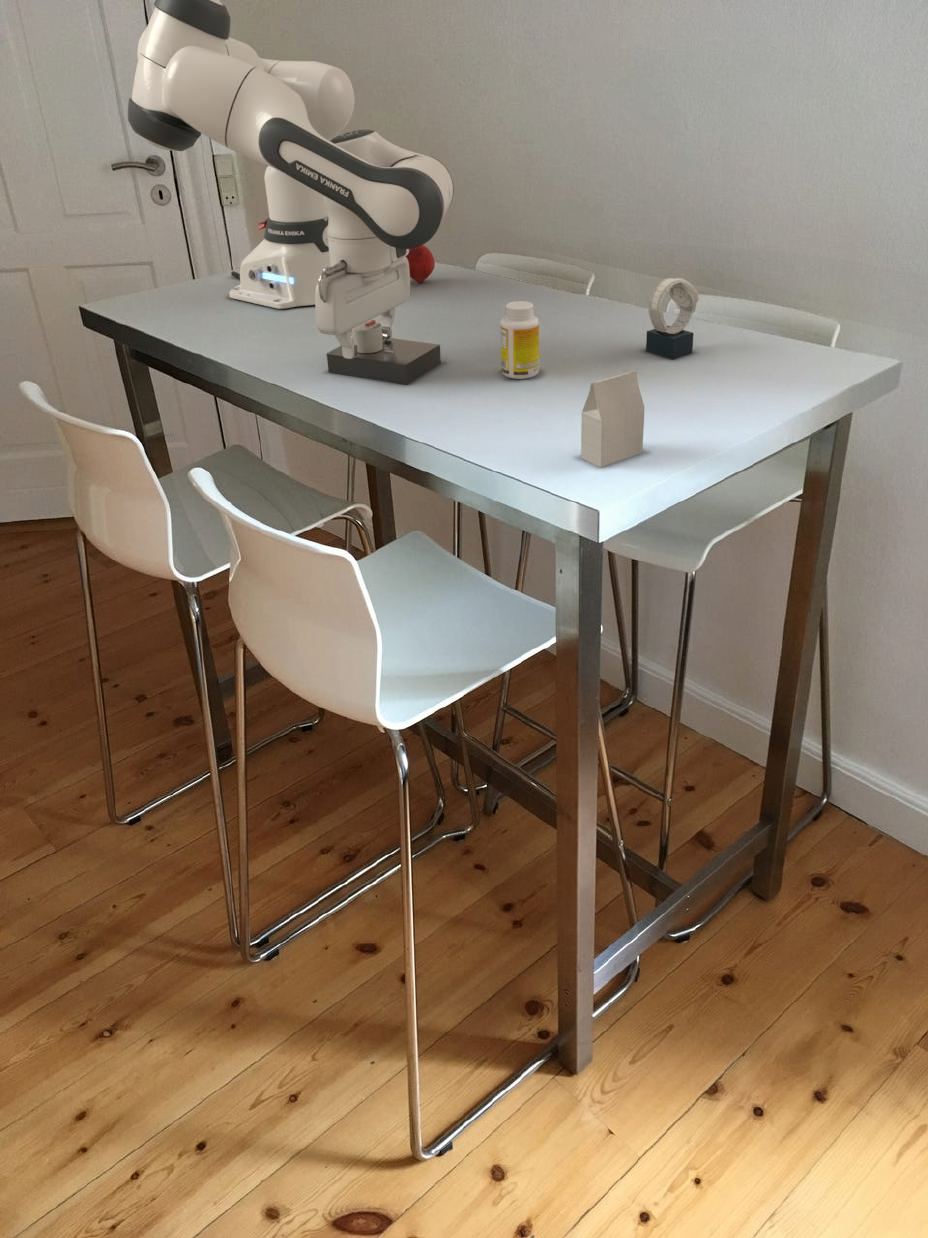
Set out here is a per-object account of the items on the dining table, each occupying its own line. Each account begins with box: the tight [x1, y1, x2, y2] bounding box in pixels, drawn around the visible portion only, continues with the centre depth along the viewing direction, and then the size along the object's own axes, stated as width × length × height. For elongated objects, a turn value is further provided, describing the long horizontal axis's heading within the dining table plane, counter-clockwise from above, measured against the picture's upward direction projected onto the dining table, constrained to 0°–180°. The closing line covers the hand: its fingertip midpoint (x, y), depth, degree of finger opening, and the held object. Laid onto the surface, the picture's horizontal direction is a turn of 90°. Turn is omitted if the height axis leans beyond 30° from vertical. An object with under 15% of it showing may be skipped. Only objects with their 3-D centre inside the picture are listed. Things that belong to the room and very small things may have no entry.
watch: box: [645, 277, 700, 360], centre depth 164 cm, size 6×8×11 cm
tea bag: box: [580, 370, 646, 468], centre depth 131 cm, size 4×7×10 cm, turn 124°
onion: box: [405, 244, 436, 284], centre depth 204 cm, size 6×6×8 cm
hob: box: [326, 337, 442, 385], centre depth 164 cm, size 14×10×3 cm
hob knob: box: [352, 319, 383, 353], centre depth 163 cm, size 4×4×4 cm
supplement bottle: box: [499, 300, 540, 380], centre depth 158 cm, size 6×6×10 cm
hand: (368, 347), depth 164 cm, fingers open, 8 cm apart
